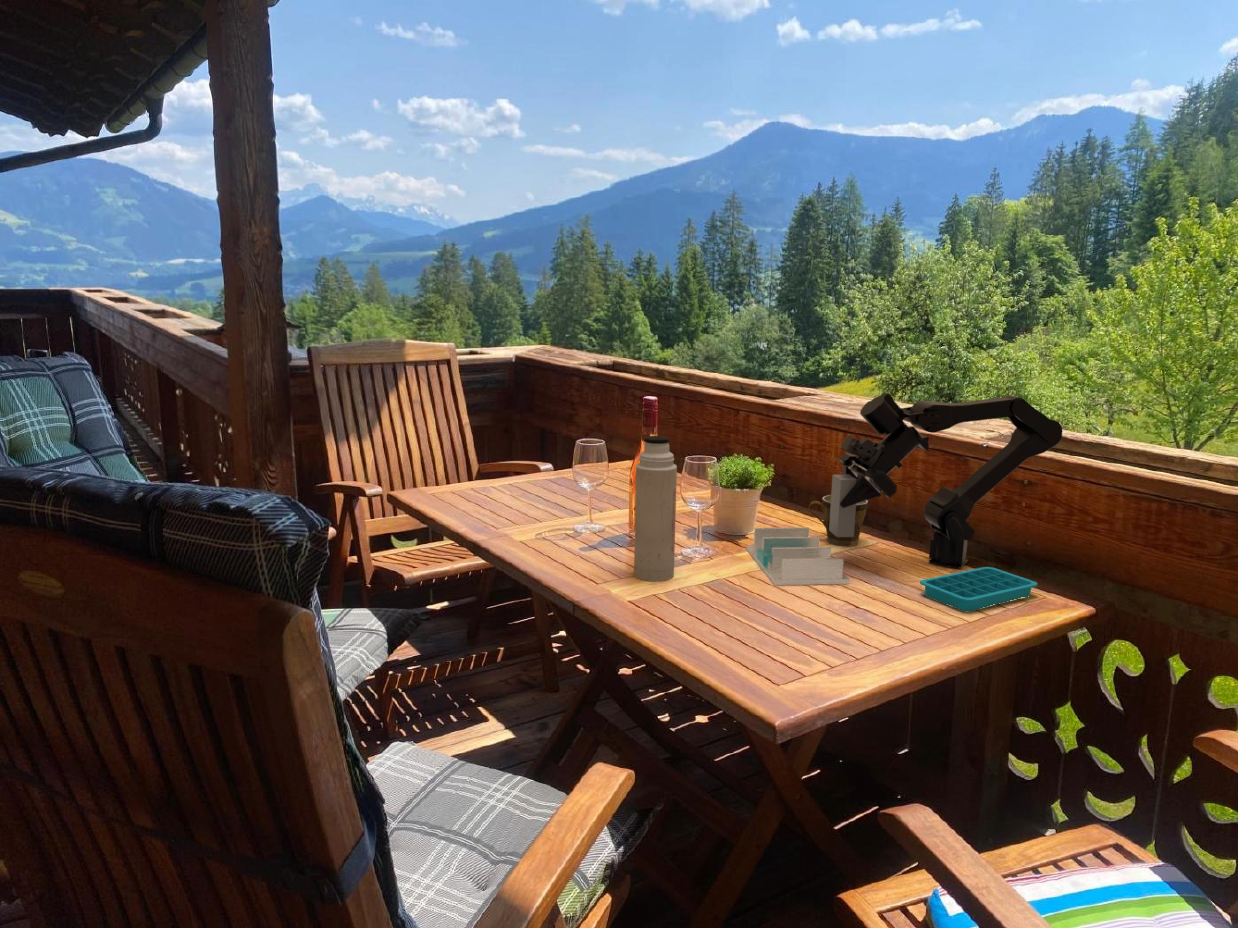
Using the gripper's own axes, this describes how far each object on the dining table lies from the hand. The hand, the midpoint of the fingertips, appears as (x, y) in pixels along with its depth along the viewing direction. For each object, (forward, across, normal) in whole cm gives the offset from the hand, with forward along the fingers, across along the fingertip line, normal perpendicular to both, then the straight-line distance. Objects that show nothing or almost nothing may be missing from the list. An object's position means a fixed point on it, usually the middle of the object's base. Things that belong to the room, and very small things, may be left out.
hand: (836, 502), depth 176 cm
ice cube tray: (-5, +19, +25) cm, 32 cm away
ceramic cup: (+5, -17, +14) cm, 23 cm away
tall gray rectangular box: (+4, 0, +6) cm, 7 cm away
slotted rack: (+15, 0, +4) cm, 16 cm away
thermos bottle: (+37, +4, -18) cm, 41 cm away
